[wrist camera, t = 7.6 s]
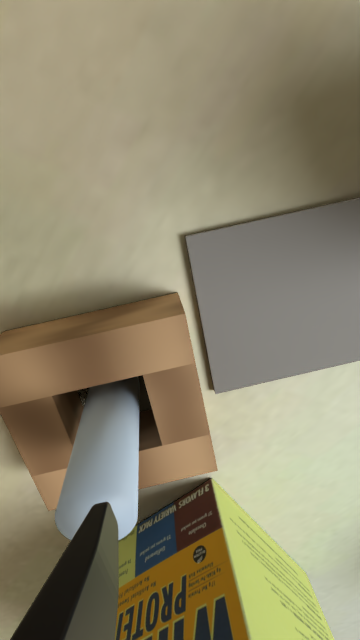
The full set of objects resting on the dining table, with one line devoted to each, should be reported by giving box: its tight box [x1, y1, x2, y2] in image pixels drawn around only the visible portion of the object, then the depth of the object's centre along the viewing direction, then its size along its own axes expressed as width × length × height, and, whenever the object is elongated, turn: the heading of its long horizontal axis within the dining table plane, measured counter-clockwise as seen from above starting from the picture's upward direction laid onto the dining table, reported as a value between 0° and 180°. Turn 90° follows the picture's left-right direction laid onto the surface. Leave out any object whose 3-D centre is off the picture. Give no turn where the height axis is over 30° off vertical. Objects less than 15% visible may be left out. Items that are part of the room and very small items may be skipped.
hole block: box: [0, 293, 218, 511], centre depth 19 cm, size 10×10×4 cm
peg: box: [55, 376, 140, 540], centre depth 16 cm, size 3×3×9 cm
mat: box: [185, 197, 360, 394], centre depth 20 cm, size 10×10×1 cm
